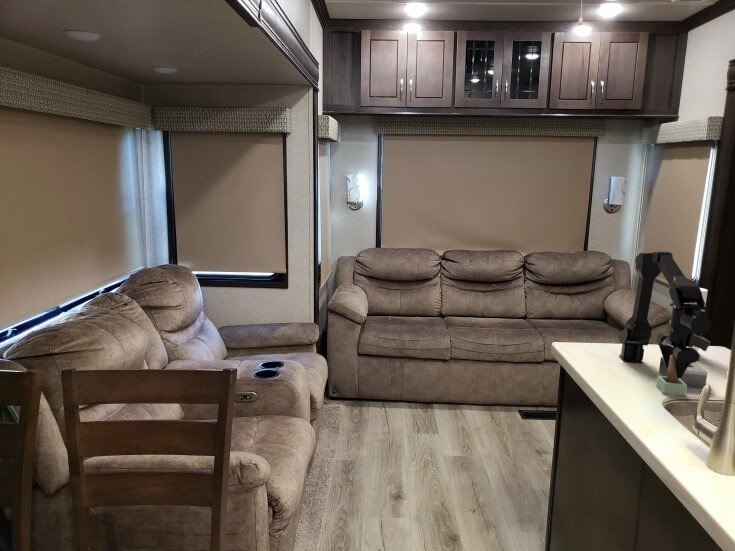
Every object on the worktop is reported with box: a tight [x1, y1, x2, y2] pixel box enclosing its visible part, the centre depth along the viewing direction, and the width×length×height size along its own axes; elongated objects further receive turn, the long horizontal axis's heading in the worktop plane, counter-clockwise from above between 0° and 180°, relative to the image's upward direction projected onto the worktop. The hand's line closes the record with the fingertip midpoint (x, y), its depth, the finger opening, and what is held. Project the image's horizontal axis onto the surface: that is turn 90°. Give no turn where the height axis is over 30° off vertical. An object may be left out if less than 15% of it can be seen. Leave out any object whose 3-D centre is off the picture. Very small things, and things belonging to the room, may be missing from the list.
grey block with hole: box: [658, 356, 708, 389], centre depth 185 cm, size 10×12×6 cm
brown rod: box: [666, 355, 679, 384], centre depth 175 cm, size 3×3×11 cm
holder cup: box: [656, 375, 688, 397], centre depth 176 cm, size 6×6×4 cm
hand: (673, 372), depth 175 cm, fingers open, 9 cm apart
